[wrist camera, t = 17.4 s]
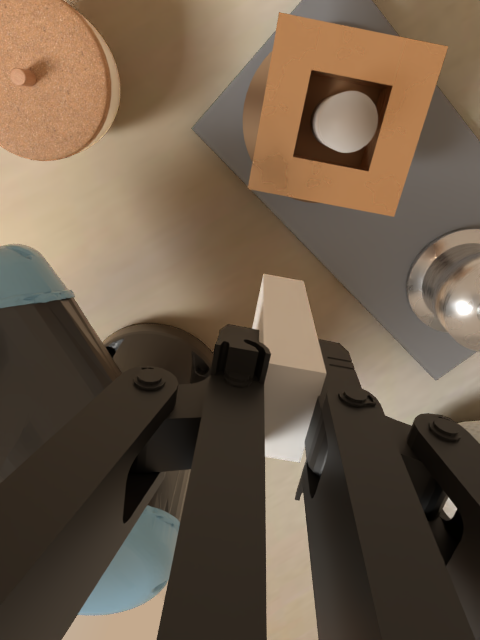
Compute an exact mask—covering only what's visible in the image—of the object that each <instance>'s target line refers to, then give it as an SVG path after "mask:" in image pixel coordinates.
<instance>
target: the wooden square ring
mask: <svg viewBox="0 0 480 640" xmlns="http://www.w3.org/2000/svg"><path fill="white" fill-rule="evenodd" d="M447 49H448V46H443V45H438V44H433V43H428V42H423V41H418V40H414V39H409V38H404V37H399V36H394V35H389V34H384V33H379V32H374V31H369V30H364V29H359V28H354V27H349V26H344V25H339V24H334V23H329V22H324V21H319V20H315V19H310V18H305V17H300V16H295V15H290V14H285V13H280V12H279V17H278V22H277V28H276V33H275V39H274V45H273V50H272V56H271V61H270V67H269V73H268V78H267V84H266V89H265V95H264V100H263V106H262V112H261V117H260V123H259V128H258V134H257V140H256V145H255V151H254V156H253V162H252V167H251V173H250V179H249V184H248V189H250V190H256V191H261V192H266V193H272V194H277V195H282V196H287V197H293V198H298V199H303V200H308V201H314V202H319V203H324V204H329V205H335V206H340V207H345V208H350V209H356V210H361V211H366V212H371V213H377V214H382V215H387V216H392V217H394V216H395V212H396V209H397V206H398V203H399V200H400V197H401V194H402V190H403V187H404V184H405V181H406V178H407V175H408V172H409V168H410V165H411V162H412V159H413V156H414V153H415V150H416V146H417V143H418V140H419V137H420V134H421V131H422V128H423V124H424V121H425V118H426V115H427V112H428V109H429V105H430V102H431V99H432V96H433V93H434V90H435V87H436V83H437V80H438V77H439V74H440V71H441V68H442V65H443V61H444V58H445V55H446V52H447ZM310 75H314V76H319V77H324V78H329V79H334V80H340V81H345V82H350V83H355V84H360V85H365V86H370V87H375V88H380V89H381V91H380V94H379V98H378V102H377V105H376V109H377V113H378V125H377V129H376V132H375V134H374V136H373V137H372V139H371V140H370V142H369V143H368V144H367V145H366V146H365V149H364V153H363V156H362V160H361V164H360V167H358V166H353V165H348V164H342V163H337V162H332V161H327V160H322V159H317V158H311V157H306V156H301V155H296V154H294V149H295V145H296V140H297V135H298V130H299V126H300V121H301V116H302V112H303V107H304V102H305V98H306V93H307V88H308V84H309V79H310Z"/></svg>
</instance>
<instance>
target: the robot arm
mask: <svg viewBox="0 0 480 640" xmlns="http://www.w3.org/2000/svg"><path fill="white" fill-rule="evenodd" d="M73 297H75V296H74V293H73V292H72V291H71V290H68V289H67V288H66V286H65V285H64V284H63V282H62V281H61V280H60V278H59V277H58V276H57V274H56V273H55V272H54V270H53V269H52V267H51V266H50V265H49V263H48V262H47V261H46V259H45V258H44V257H43V256H42V255H41V254H40V253H39V252H38V251H37V250H35V249H33V248H31V247H29V246H26V245H21V244H10V245H4V246H0V640H61V639H62V638H63V637H64V635H65V633H66V632H67V630H68V629H69V627H70V626H71V624H72V622H73V621H74V619H75V618H76V616H77V615H107V614H114V613H118V612H123V611H126V610H130V609H133V608H135V607H138V606H140V605H142V604H144V603H146V602H147V601H149V600H150V599H152V598H153V597H154V596H156V595H157V594H158V593H159V592H160V591H161V590H162V589H163V588H164V586H165V585H166V583H167V581H168V580H169V581H168V586H167V591H166V596H165V601H164V606H163V611H162V616H161V621H160V626H159V631H158V635H157V640H267V634H266V524H265V457H269V458H275V459H281V460H287V461H293V462H299V463H300V461H301V458H302V454H303V451H304V448H305V450H306V458H307V459H306V462H305V465H304V469H303V472H302V475H301V478H300V482H299V485H298V488H297V492H296V496H295V500H300V496H301V493H304V503H305V513H306V522H307V532H308V542H309V551H310V561H311V571H312V580H313V590H314V599H315V609H316V619H317V628H318V638H319V640H480V443H479V442H478V441H477V440H476V439H475V438H474V437H473V436H472V435H471V434H470V433H469V432H468V431H467V430H466V429H464V428H463V427H462V426H461V425H459V424H458V423H456V422H454V421H452V420H451V419H450V418H447V417H443V416H441V415H435V414H429V413H427V414H420V415H418V416H417V417H416V418H415V420H414V422H413V424H412V426H411V425H408V424H405V423H402V422H400V421H397V420H394V419H392V418H390V417H387V416H385V414H384V412H383V409H382V407H381V404H380V403H379V401H378V400H377V399H376V397H374V396H373V395H372V394H371V393H369V392H368V391H366V390H364V389H362V388H361V385H360V382H359V380H358V377H357V374H356V371H355V370H354V366H353V363H351V362H352V360H351V358H350V355H349V352H348V351H347V350H346V349H345V348H344V347H343V346H342V345H341V344H340V343H336V342H331V341H325V340H319V339H318V337H317V333H316V329H315V325H314V321H313V317H312V313H311V309H310V305H309V301H308V296H307V292H306V288H305V284H304V281H301V280H296V279H291V278H285V277H280V276H274V275H269V274H263V278H262V283H261V288H260V293H259V298H258V302H257V307H256V312H255V317H254V322H253V326H252V329H251V328H246V327H240V326H235V325H229V324H227V325H226V326H225V327H223V328H222V329H221V330H220V331H219V336H218V341H217V342H216V344H215V349H214V354H213V353H212V352H211V351H210V349H209V348H208V347H207V346H206V345H205V344H203V343H202V342H201V341H200V340H198V339H197V338H196V337H194V336H192V335H191V334H189V333H187V332H185V331H183V330H180V329H178V328H175V327H171V326H167V325H162V324H138V325H133V326H129V327H126V328H123V329H121V330H119V331H117V332H115V333H113V334H112V335H110V336H109V337H108V338H106V339H105V340H104V341H103V342H102V341H101V340H100V338H99V337H98V335H97V334H96V332H95V331H94V329H93V328H92V326H91V325H90V323H89V322H88V320H87V318H86V317H85V315H84V314H83V312H82V310H81V309H80V307H79V306H78V304H77V303H76V301H75V299H74V298H73ZM448 497H449V498H450V500H451V501H452V502H453V504H454V505H455V506H456V508H457V510H456V512H455V514H454V516H453V518H452V519H450V518H449V517H448V516H447V514H446V513H445V512H444V510H443V507H444V505H445V503H446V501H447V499H448Z"/></svg>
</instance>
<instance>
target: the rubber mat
mask: <svg viewBox="0 0 480 640" xmlns="http://www.w3.org/2000/svg"><path fill="white" fill-rule="evenodd" d="M290 15H295V16H300V17H305V18H310V19H315V20H319V21H324V22H329V23H334V24H339V25H344V26H349V27H354V28H359V29H364V30H369V31H374V32H379V33H384V34H389V35H394V36H399V35H398V34H397V32H396V31H395V30H394V29H393V27H392V26H391V25H390V23H389V22H388V21H387V19H386V18H385V17H384V15H383V14H382V13H381V11H380V10H379V9H378V8H377V6H376V5H375V4H374V2H373V1H372V0H302V1H301V2H300V3H299V4H298V5H297V7H296V8H295V9H294V10H293V11H292V12H291V14H290ZM275 33H276V31H275V32H274V33H273V34H272V36H271V37H270V38H269V39H268V40H267V41H266V43H265V44H264V45H263V46H262V47H261V48H260V50H259V51H258V52H257V53H256V54H255V55H254V56H253V58H252V59H251V60H250V61H249V62H248V63H247V65H246V66H245V67H244V68H243V69H242V70H241V72H240V73H239V74H238V75H237V76H236V77H235V79H234V80H233V81H232V82H231V83H230V84H229V85H228V87H227V88H226V89H225V90H224V91H223V92H222V94H221V95H220V96H219V97H218V98H217V99H216V101H215V102H214V103H213V104H212V105H211V106H210V108H209V109H208V110H207V111H206V112H205V113H204V114H203V116H202V117H201V118H200V119H199V120H198V121H197V123H196V124H195V125H194V126H193V127H192V128H191V129H192V130H193V131H194V132H195V133H196V134H197V135H198V136H199V137H200V138H201V139H202V140H203V141H204V142H205V143H206V144H207V145H208V146H209V147H210V148H211V149H212V150H213V151H214V152H215V153H216V154H217V155H218V156H219V157H220V159H221V160H222V161H223V162H224V163H225V164H226V165H227V166H228V167H229V168H230V169H231V170H232V171H233V172H234V173H235V174H236V175H237V176H238V177H239V178H240V179H241V180H242V181H243V182H244V183H245V184H246V185H247V186H248V184H249V179H250V173H251V167H252V161H251V158H250V156H249V153H248V151H247V148H246V144H245V140H244V133H243V109H244V102H245V98H246V94H247V91H248V88H249V85H250V82H251V80H252V78H253V76H254V74H255V72H256V71H257V69H258V68H259V66H260V65H261V63H262V62H263V60H264V59H265V58H266V57H267V56H268V55H269V53H270V52H271V51H272V50H273V45H274V39H275ZM399 37H400V36H399ZM251 191H252V192H253V193H254V194H255V195H256V196H257V197H258V198H259V199H260V200H261V201H262V202H263V203H264V204H265V205H266V206H267V207H268V208H269V209H270V210H271V211H272V212H273V213H274V214H275V215H276V216H277V217H278V218H279V219H280V220H281V221H282V222H283V224H284V225H285V226H286V227H287V228H288V229H289V230H290V231H291V232H292V233H293V234H294V235H295V236H296V237H297V238H298V239H299V240H300V241H301V242H302V243H303V244H304V245H305V246H306V247H307V248H308V249H309V250H310V251H311V252H312V253H313V254H314V256H315V257H316V258H317V259H318V260H319V261H320V262H321V263H322V264H323V265H324V266H325V267H326V268H327V269H328V270H329V271H330V272H331V273H332V274H333V275H334V276H335V277H336V278H337V279H338V280H339V281H340V282H341V283H342V284H343V285H344V286H345V287H346V289H347V290H348V291H349V292H350V293H351V294H352V295H353V296H354V297H355V298H356V299H357V300H358V301H359V302H360V303H361V304H362V305H363V306H364V307H365V308H366V309H367V310H368V311H369V312H370V313H371V314H372V315H373V316H374V317H375V318H376V319H377V321H378V322H379V323H380V324H381V325H382V326H383V327H384V328H385V329H386V330H387V331H388V332H389V333H390V334H391V335H392V336H393V337H394V338H395V339H396V340H397V341H398V342H399V343H400V344H401V345H402V346H403V347H404V348H405V349H406V350H407V351H408V353H409V354H410V355H411V356H412V357H413V358H414V359H415V360H416V361H417V362H418V363H419V364H420V365H421V366H422V367H423V368H424V369H425V370H426V371H427V372H428V373H429V374H430V375H431V376H432V377H433V378H434V379H435V380H438V379H439V378H440V377H442V376H443V375H445V374H446V373H447V372H449V371H450V370H452V369H453V368H455V367H456V366H457V365H459V364H460V363H462V362H463V361H464V360H466V359H467V358H469V357H470V356H472V355H473V354H474V353H476V352H477V351H475V350H471V349H468V348H466V347H464V346H462V345H460V344H459V343H458V342H456V340H455V339H454V338H453V337H452V336H451V335H450V334H449V333H446V332H441V331H438V330H435V329H433V328H431V327H429V326H427V325H426V324H424V323H423V322H422V321H421V320H420V319H419V318H418V317H417V316H416V314H415V313H414V312H413V310H412V309H411V307H410V305H409V302H408V299H407V294H406V281H407V276H408V272H409V269H410V267H411V265H412V263H413V261H414V259H415V258H416V257H417V255H418V254H419V253H420V251H421V250H422V249H423V248H424V247H425V246H426V245H428V244H429V243H430V242H431V241H433V240H434V239H436V238H437V237H439V236H441V235H443V234H445V233H447V232H450V231H453V230H457V229H461V228H480V141H479V140H478V139H477V137H476V136H475V135H474V133H473V132H472V131H471V129H470V128H469V127H468V126H467V124H466V123H465V122H464V120H463V119H462V118H461V116H460V115H459V114H458V112H457V111H456V110H455V109H454V107H453V106H452V105H451V103H450V102H449V101H448V99H447V98H446V97H445V95H444V94H443V93H442V91H441V90H440V89H439V88H438V86H437V85H436V87H435V90H434V93H433V96H432V99H431V102H430V105H429V109H428V112H427V115H426V118H425V121H424V124H423V128H422V131H421V134H420V137H419V140H418V143H417V146H416V150H415V153H414V156H413V159H412V162H411V165H410V168H409V172H408V175H407V178H406V181H405V184H404V187H403V190H402V194H401V197H400V200H399V203H398V206H397V209H396V212H395V216H394V217H392V216H387V215H382V214H377V213H371V212H366V211H361V210H356V209H350V208H345V207H340V206H335V205H329V204H324V203H308V202H303V201H299V200H295V199H292V198H290V197H287V196H282V195H277V194H272V193H266V192H261V191H256V190H251Z"/></svg>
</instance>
